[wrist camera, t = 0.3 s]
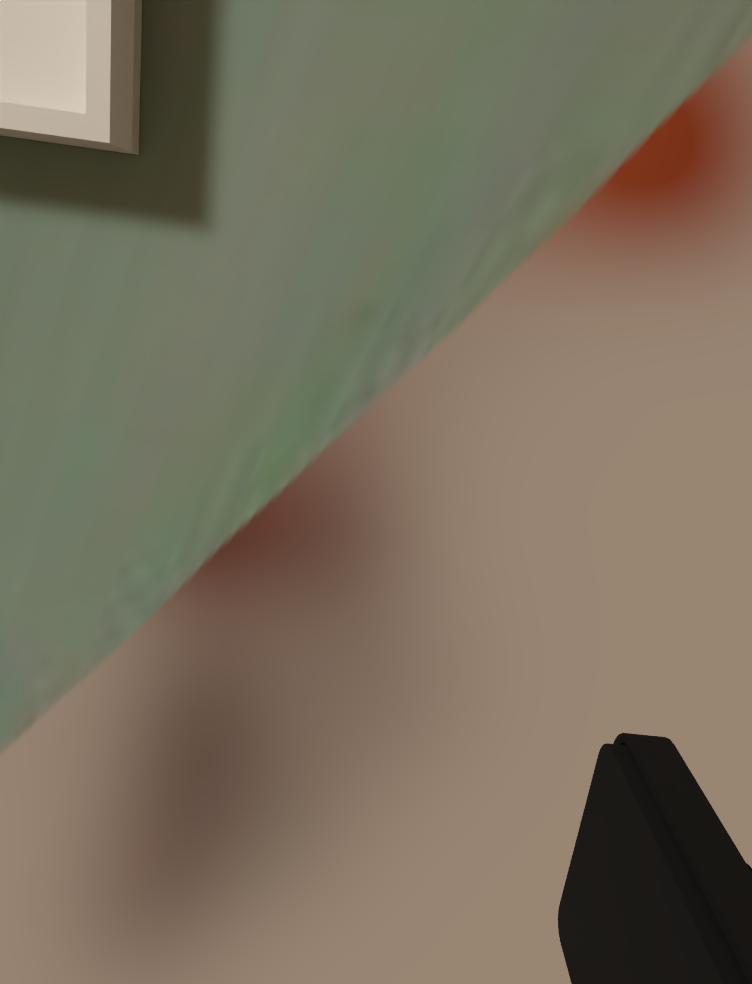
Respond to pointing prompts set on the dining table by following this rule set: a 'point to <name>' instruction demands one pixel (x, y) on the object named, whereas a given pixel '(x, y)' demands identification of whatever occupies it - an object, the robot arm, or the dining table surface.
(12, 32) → the tray
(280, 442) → the dining table surface
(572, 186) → the dining table surface
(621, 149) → the dining table surface
